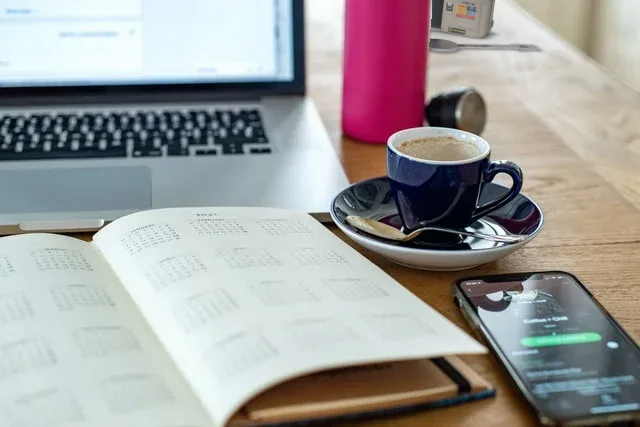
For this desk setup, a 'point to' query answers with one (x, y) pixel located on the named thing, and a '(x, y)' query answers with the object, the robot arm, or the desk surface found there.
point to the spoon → (470, 46)
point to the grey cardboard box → (463, 17)
